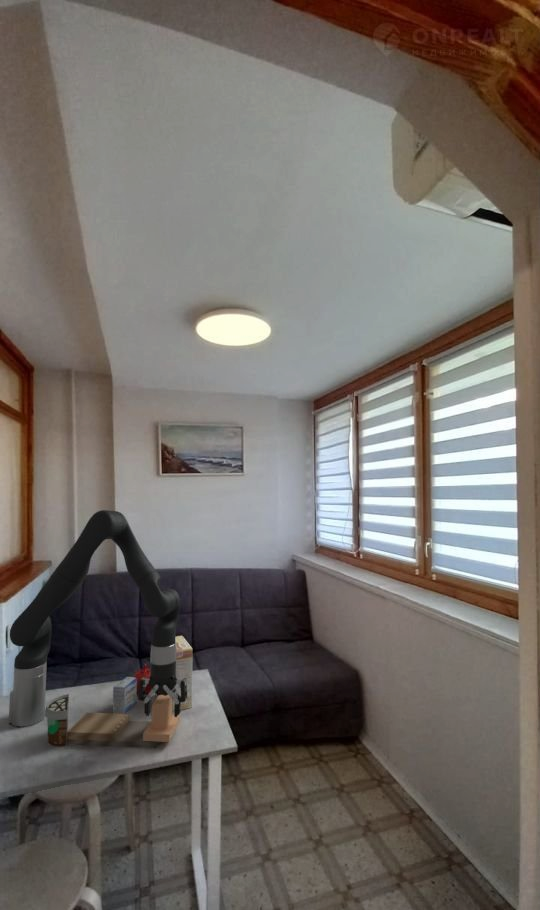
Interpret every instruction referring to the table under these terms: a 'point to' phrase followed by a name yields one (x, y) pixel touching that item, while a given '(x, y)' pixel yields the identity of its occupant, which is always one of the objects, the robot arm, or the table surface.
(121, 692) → the medicine box
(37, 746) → the table surface
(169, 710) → the stub
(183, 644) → the coffeecake box
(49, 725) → the food container
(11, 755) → the table surface
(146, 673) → the pomegranate
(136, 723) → the board
